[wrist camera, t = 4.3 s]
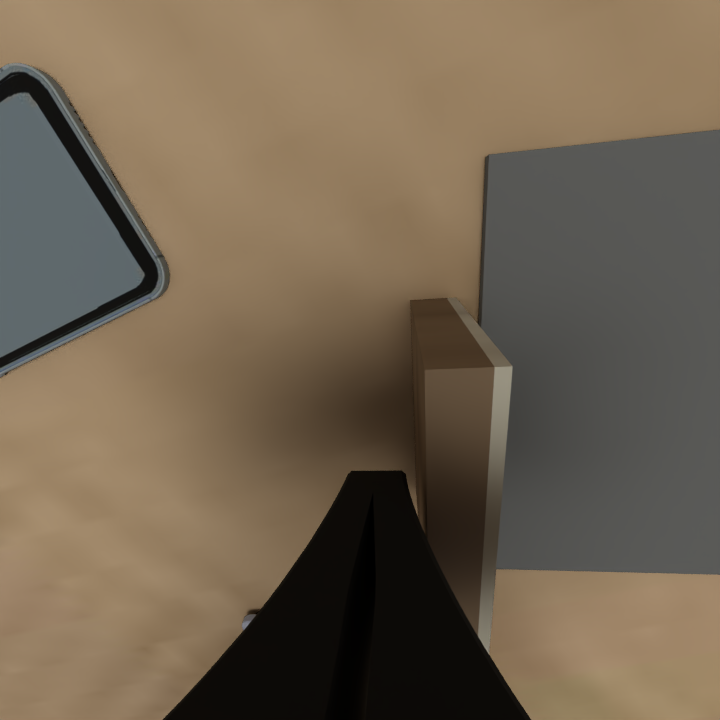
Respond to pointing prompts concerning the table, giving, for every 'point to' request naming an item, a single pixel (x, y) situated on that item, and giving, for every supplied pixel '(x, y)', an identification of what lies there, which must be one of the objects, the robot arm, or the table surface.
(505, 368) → the brown wooden block
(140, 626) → the table surface
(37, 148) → the smartphone
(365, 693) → the robot arm
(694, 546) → the mat
